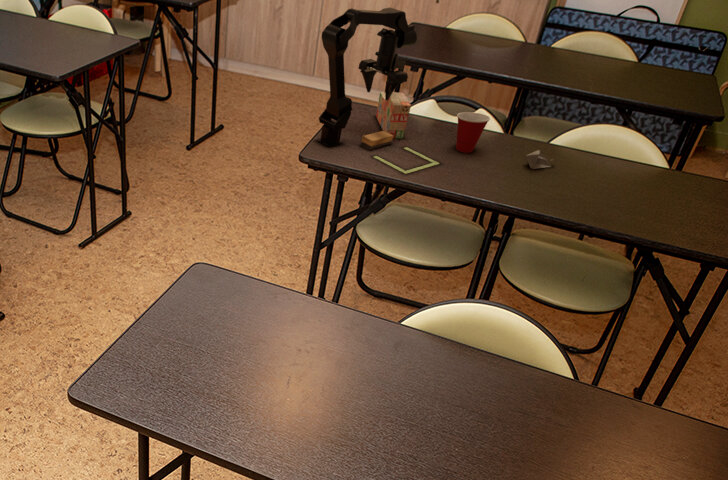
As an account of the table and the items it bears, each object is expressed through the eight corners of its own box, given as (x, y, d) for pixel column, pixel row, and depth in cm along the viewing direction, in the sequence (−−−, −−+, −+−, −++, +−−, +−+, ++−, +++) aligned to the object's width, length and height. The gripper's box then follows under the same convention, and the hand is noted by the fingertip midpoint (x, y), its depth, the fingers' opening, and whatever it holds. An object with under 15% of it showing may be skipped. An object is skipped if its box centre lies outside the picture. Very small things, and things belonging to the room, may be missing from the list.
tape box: (405, 174, 225) (405, 173, 225) (373, 157, 235) (373, 156, 235) (439, 163, 231) (439, 163, 231) (406, 147, 241) (406, 147, 241)
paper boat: (536, 155, 235) (563, 156, 229) (530, 173, 236) (557, 175, 230) (523, 143, 227) (552, 144, 220) (517, 162, 228) (545, 164, 221)
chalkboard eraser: (370, 150, 239) (372, 140, 237) (360, 145, 242) (362, 135, 240) (391, 144, 243) (393, 135, 241) (381, 140, 246) (383, 130, 244)
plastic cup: (474, 143, 245) (483, 109, 238) (484, 155, 237) (495, 121, 229) (444, 142, 245) (453, 109, 237) (453, 155, 237) (463, 121, 229)
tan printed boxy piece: (375, 116, 264) (381, 83, 256) (391, 116, 264) (398, 84, 256) (386, 138, 247) (393, 104, 239) (403, 138, 247) (411, 104, 239)
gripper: (424, 54, 231) (413, 100, 241) (385, 39, 243) (375, 85, 253) (400, 58, 226) (390, 105, 236) (361, 43, 238) (353, 89, 248)
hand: (377, 96), depth 243 cm, fingers open, 9 cm apart
